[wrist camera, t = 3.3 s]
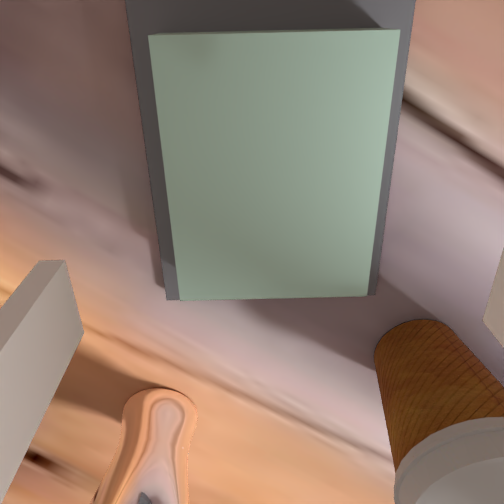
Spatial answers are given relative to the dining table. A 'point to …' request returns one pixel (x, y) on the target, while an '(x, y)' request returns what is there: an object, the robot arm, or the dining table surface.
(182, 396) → the beer glass
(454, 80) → the dining table surface
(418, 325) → the disposable coffee cup
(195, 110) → the board
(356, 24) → the rubber mat
